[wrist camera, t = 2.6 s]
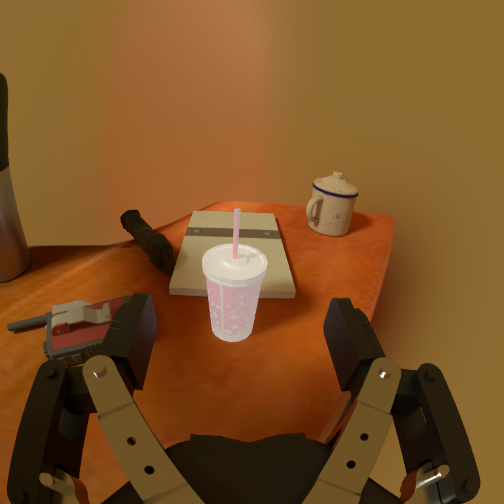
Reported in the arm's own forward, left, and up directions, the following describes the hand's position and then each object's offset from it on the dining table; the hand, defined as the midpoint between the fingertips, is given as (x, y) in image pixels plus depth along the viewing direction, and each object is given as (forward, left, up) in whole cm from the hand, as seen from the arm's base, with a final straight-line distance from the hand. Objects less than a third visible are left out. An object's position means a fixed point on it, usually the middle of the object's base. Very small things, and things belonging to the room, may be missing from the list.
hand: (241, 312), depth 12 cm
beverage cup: (0, +12, -15) cm, 19 cm away
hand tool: (-14, +29, -15) cm, 35 cm away
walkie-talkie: (-19, +9, -15) cm, 26 cm away
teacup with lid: (+18, +38, -15) cm, 45 cm away
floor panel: (0, +29, -14) cm, 33 cm away
